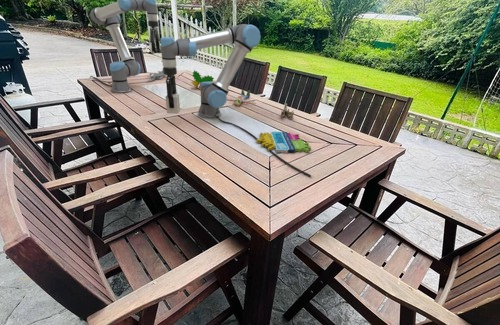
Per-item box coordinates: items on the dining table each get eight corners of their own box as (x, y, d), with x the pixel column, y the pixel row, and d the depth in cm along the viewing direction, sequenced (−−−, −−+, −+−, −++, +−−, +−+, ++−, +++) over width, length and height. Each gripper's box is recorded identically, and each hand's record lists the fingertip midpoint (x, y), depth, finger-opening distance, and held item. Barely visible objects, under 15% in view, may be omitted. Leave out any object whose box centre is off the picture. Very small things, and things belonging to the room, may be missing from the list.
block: (180, 110, 166) (178, 94, 161) (178, 113, 160) (176, 97, 155) (169, 110, 165) (167, 93, 160) (167, 113, 160) (165, 96, 155)
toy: (261, 91, 228) (254, 99, 202) (261, 99, 231) (253, 108, 205) (231, 87, 233) (220, 95, 207) (230, 95, 236) (219, 104, 210)
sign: (313, 150, 142) (258, 149, 139) (312, 153, 143) (258, 152, 140) (301, 132, 164) (254, 130, 161) (301, 134, 165) (254, 133, 162)
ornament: (208, 92, 257) (212, 77, 255) (210, 92, 249) (214, 76, 248) (188, 85, 249) (191, 70, 247) (189, 85, 241) (193, 69, 239)
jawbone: (291, 106, 199) (293, 98, 190) (292, 123, 193) (294, 114, 184) (278, 106, 199) (280, 97, 190) (279, 122, 193) (281, 114, 184)
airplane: (140, 75, 284) (139, 65, 279) (170, 73, 298) (169, 64, 293) (146, 83, 256) (144, 73, 251) (178, 81, 269) (177, 71, 264)
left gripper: (152, 20, 209) (155, 48, 220) (143, 20, 188) (147, 52, 198) (161, 20, 210) (164, 49, 220) (154, 21, 188) (157, 53, 199)
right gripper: (167, 63, 158) (170, 101, 169) (158, 69, 141) (163, 110, 152) (179, 64, 158) (182, 101, 169) (172, 70, 141) (176, 111, 153)
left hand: (156, 50), depth 209 cm, fingers open, 13 cm apart
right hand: (173, 106), depth 161 cm, fingers closed on block, 6 cm apart
